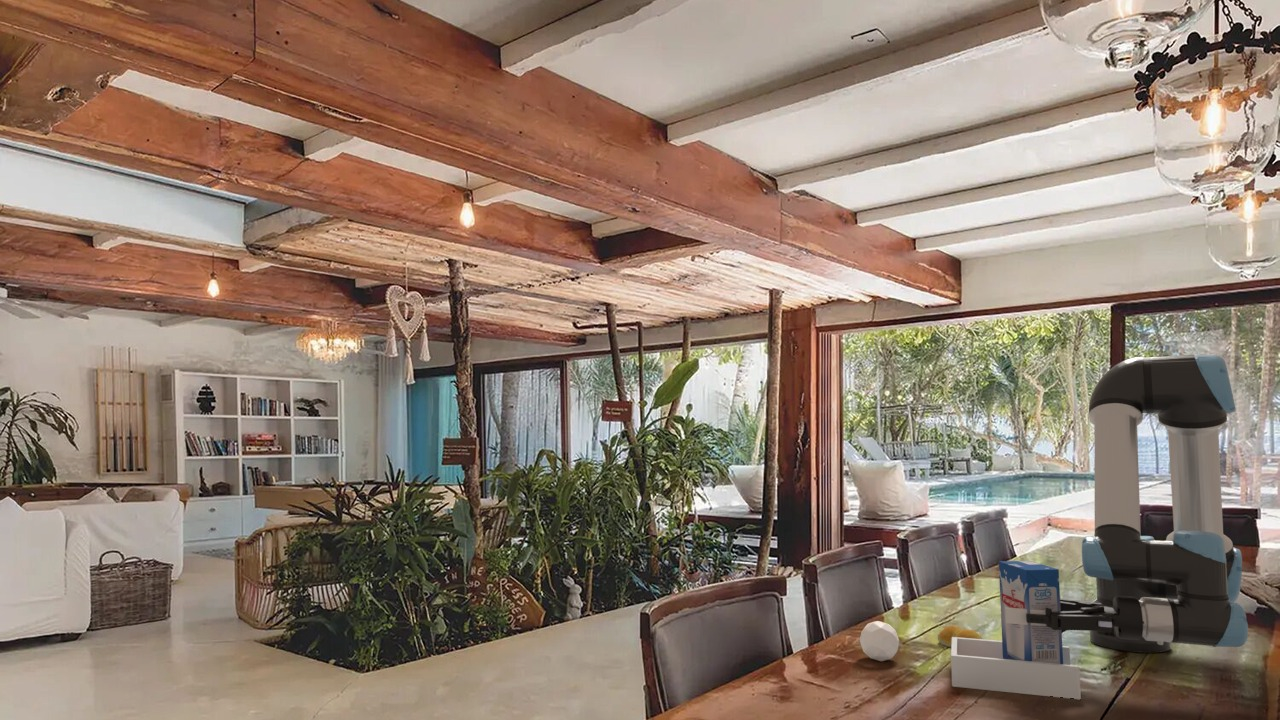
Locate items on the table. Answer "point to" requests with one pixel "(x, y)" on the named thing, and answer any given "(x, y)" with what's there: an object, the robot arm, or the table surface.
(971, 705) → the table surface
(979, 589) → the table surface
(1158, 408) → the robot arm
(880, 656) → the geometric ball
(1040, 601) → the milk carton
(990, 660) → the plastic channel
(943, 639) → the bread roll
